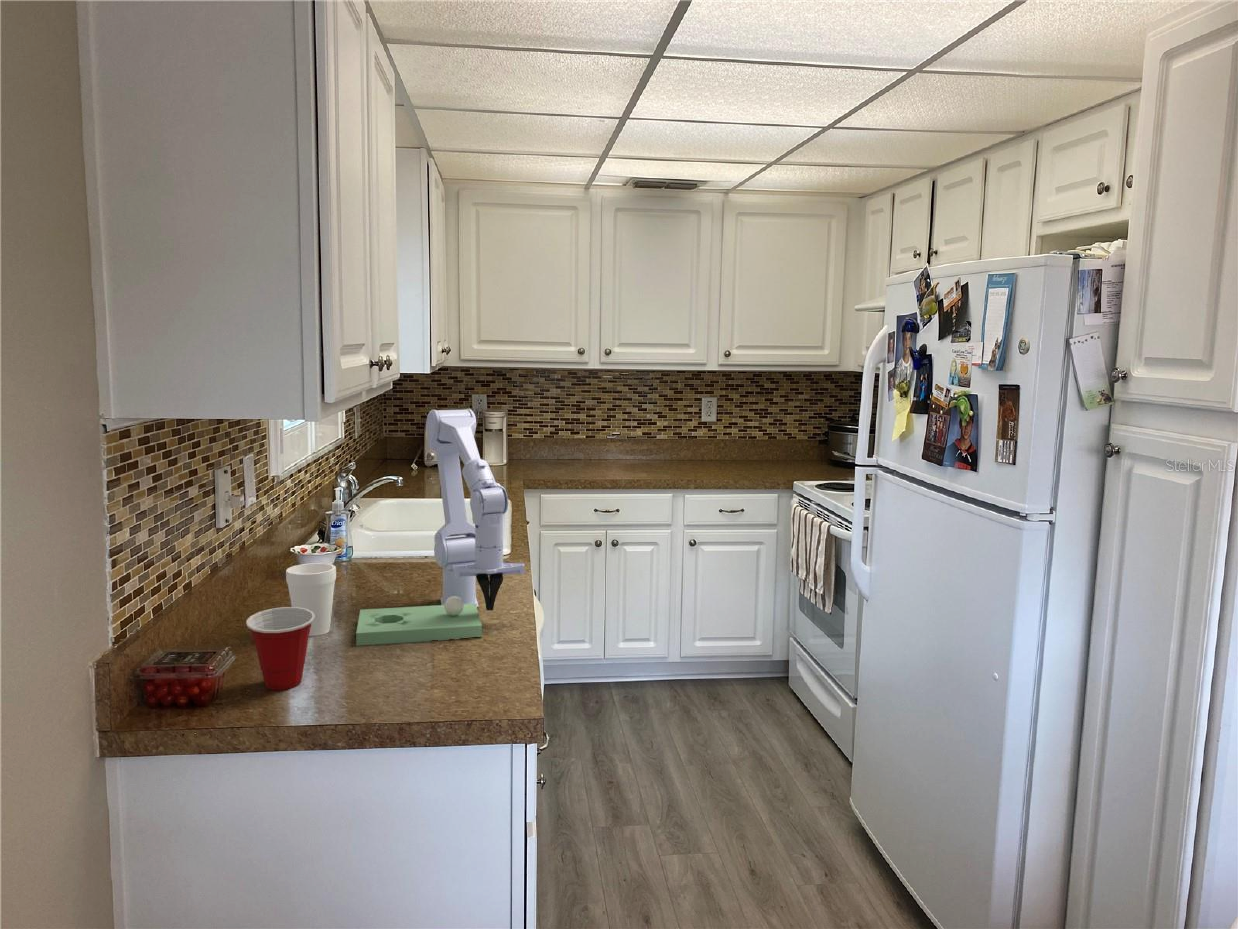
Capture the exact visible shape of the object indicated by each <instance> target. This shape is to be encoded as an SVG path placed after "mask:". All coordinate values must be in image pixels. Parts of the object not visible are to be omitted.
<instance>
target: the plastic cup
mask: <svg viewBox="0 0 1238 929" xmlns="http://www.w3.org/2000/svg"><path fill="white" fill-rule="evenodd" d="M314 618H315V616H314V613H313V612H312V611H310V610H308V609H304V608H298V607H292V606H283V607H282V606H281V607H275V608H270V609H269V608H268V609H265V610H261V611H258V612H255V613H254V614H252V615H250V616H249V617H248V618H247V619H246V620H245V621H246V626H247V628H248V629H249V630H250V632H251V635H252V638H253V641H254V644H255V649H256V653H257V658H258V663H259V667H260V670H261V674H262V677H263V678H262V679H263V682H264V685H265V688H266V689H268V690H273V691H283V690H289V689H294V688H295V687H298V686H299V685H301V683H302V680H303V676H304V666H305V663H306V657H307V649H308V643H309V637H310V636H309V633H310V628H311V624H312V621H313V620H314Z"/></svg>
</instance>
